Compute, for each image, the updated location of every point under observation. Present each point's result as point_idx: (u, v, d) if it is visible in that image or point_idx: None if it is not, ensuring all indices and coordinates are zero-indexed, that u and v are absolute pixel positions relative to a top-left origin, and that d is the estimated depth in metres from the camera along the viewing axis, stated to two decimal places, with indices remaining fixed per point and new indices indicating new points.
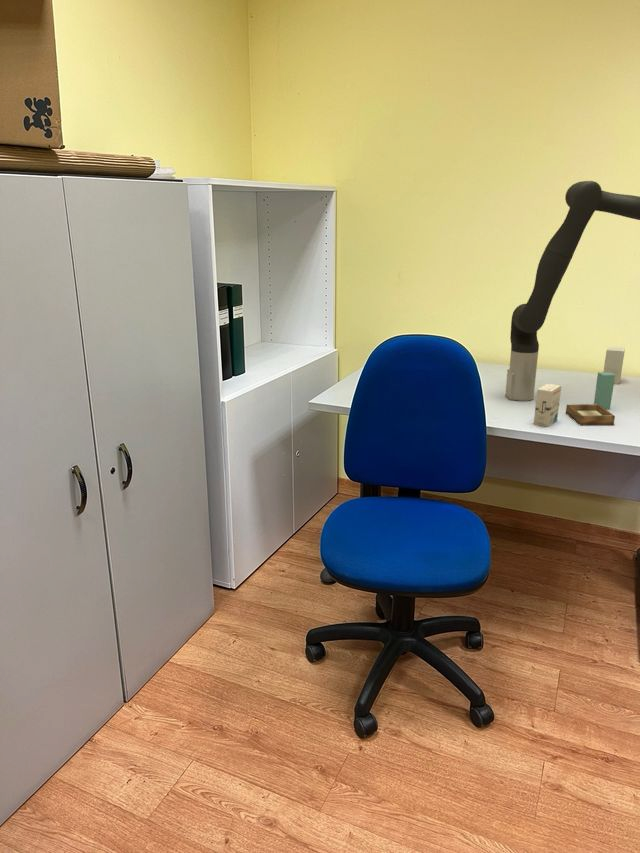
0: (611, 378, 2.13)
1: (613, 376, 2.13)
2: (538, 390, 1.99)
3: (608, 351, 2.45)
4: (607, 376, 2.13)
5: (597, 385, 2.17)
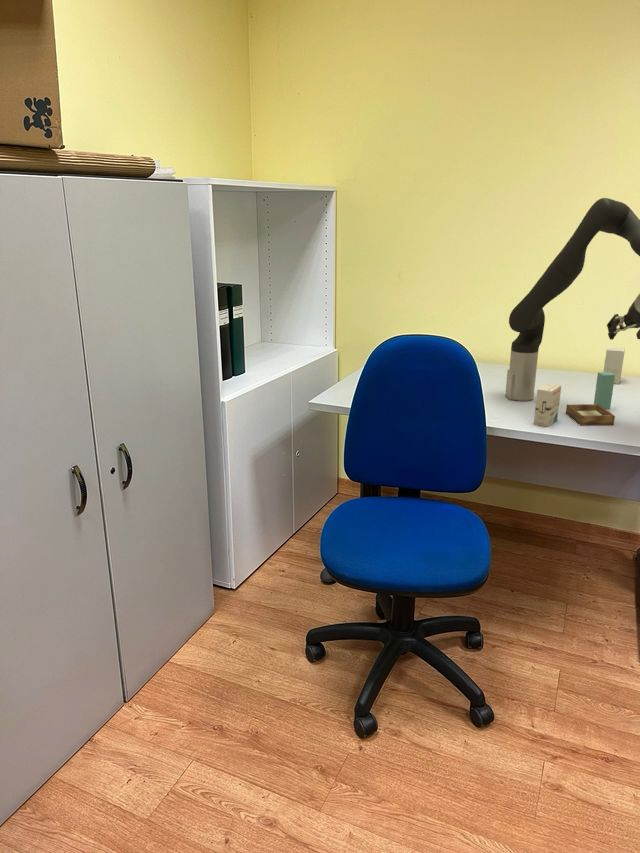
0: (611, 378, 2.13)
1: (613, 376, 2.13)
2: (538, 390, 1.99)
3: (608, 351, 2.45)
4: (607, 376, 2.13)
5: (597, 385, 2.17)
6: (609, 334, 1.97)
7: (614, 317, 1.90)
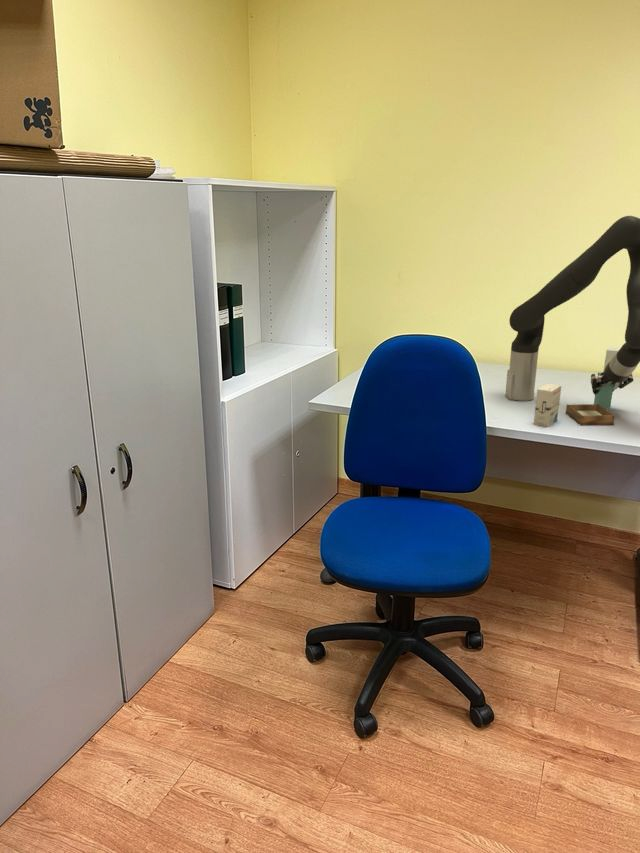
0: None
1: None
2: (538, 390, 1.99)
3: (608, 351, 2.45)
4: None
5: None
6: (593, 390, 2.17)
7: (591, 377, 2.11)
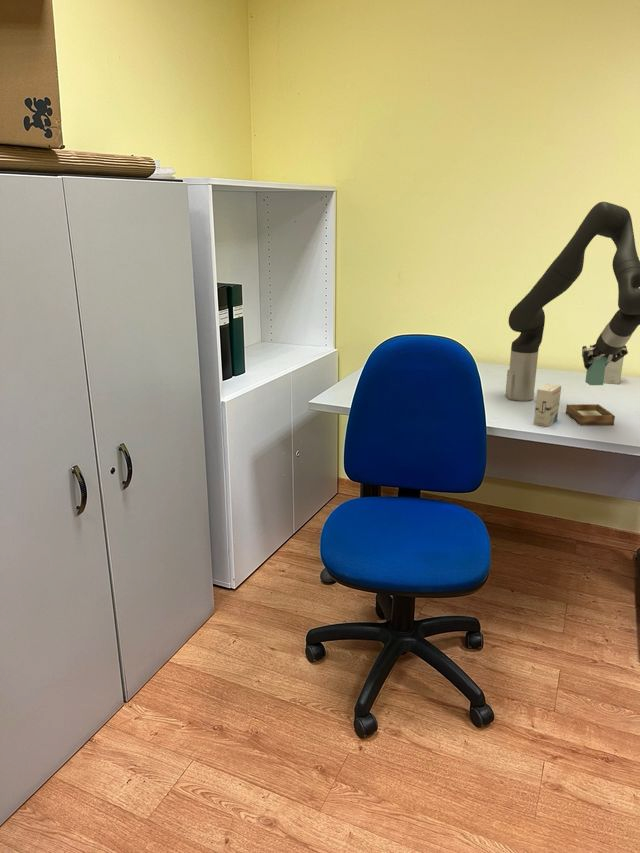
0: None
1: None
2: (538, 390, 1.99)
3: None
4: None
5: None
6: (585, 364, 2.02)
7: (582, 349, 1.96)
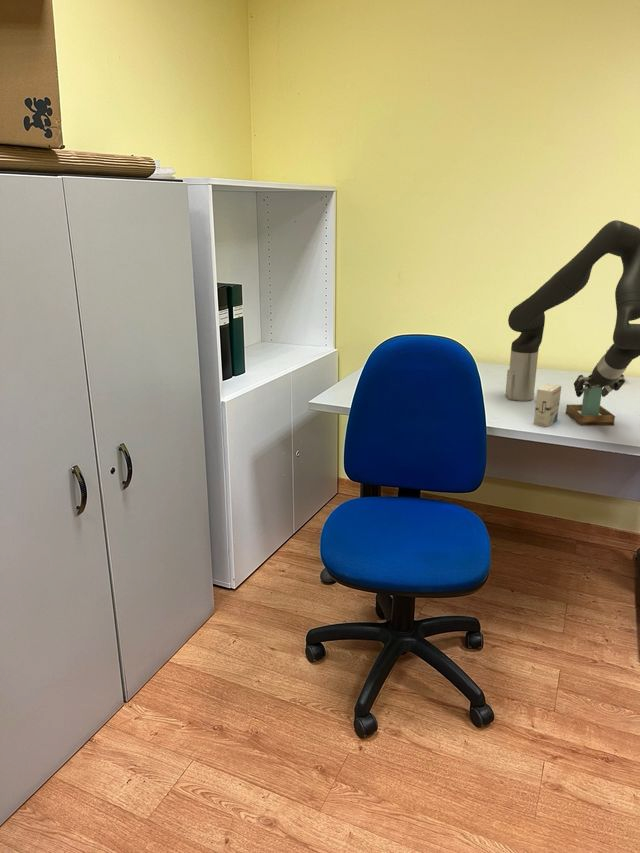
0: None
1: None
2: (538, 390, 1.99)
3: None
4: None
5: (585, 392, 2.05)
6: (576, 392, 2.05)
7: (579, 378, 1.98)
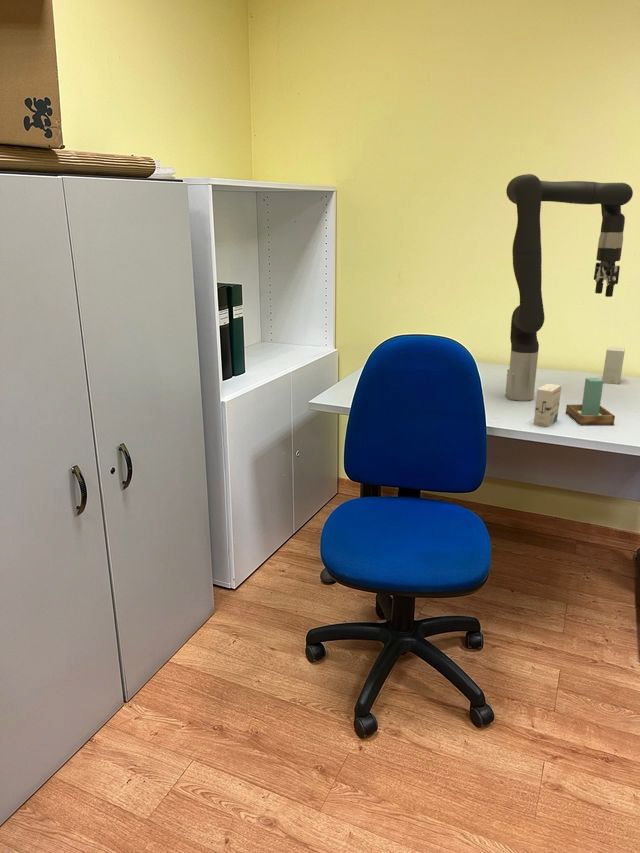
0: (599, 384, 2.01)
1: (601, 382, 2.01)
2: (538, 390, 1.99)
3: (608, 351, 2.45)
4: (595, 382, 2.01)
5: (585, 392, 2.05)
6: (611, 291, 2.16)
7: (614, 268, 2.12)
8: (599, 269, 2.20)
